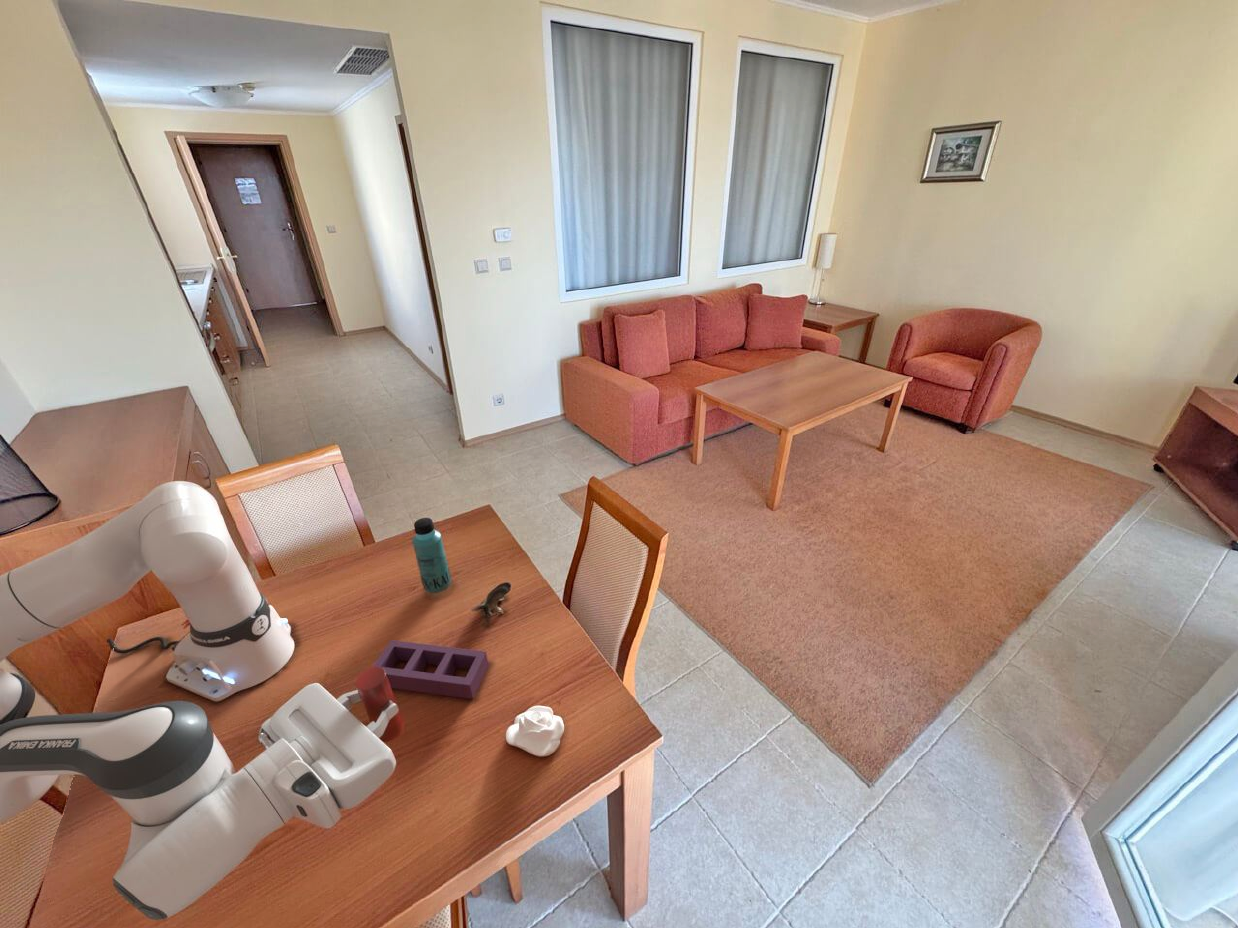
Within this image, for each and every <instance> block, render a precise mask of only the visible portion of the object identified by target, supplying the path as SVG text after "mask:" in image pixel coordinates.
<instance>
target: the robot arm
mask: <svg viewBox="0 0 1238 928" xmlns="http://www.w3.org/2000/svg"><path fill="white" fill-rule="evenodd" d="M150 572H152V573H153V574H154V575H155V577H156V578H157V579H158V580H159V581H160V583H161V584H162V585H163V586H164V588H166V589H167V590H168V591H169V592H170V593H171V594H172V596H173V597H174V598H175V600H176V602H177V603H178V605H179V607H180V608H181V610H182V612H183V614H184V615H185V617H186V618H187V619H186V620H185V621H184V622H182V624H180V626H182V627H183V628H182V629H183V630H185V629H187V628H188V627H189V632H187V633H186V634H185V635H184V636H183V637H182V638H181V639H179V640H173V641H169V642H168V643H167V641H166V639H165V638H164V637H162V636H154V637H151V638H149V639H147V640H144V641H142V642H141V643H139V644H137V645H134V646H132V647H130V648H126V649H121V648H118V647H117V646H116V644H115V641H114V639H113V638H112V637H109V638H107V639H106V643H108V645H109V647H110V649H111V650H112V651H113V652H114V653H116V654H128V653H131V652H134V651H136V650H138V649H140V648H142V647H144V646H146V645H148V644H150V643H152V642H156V641H158V642H160V643H161V648H162V649H164V650H168V649H170V648H171V650H172V652H173V653H172V656H173V659H174V662H173V663H172V665H171V666H170V668H169V670H168V672H167V673H166V676H165V678H166V680H167V682H168V683H171V684H173V685H175V686H178V687H179V688H182V689H184V690H187V691H189V692H192V693H193V694H196V695H198V696H201V697H202V698H205V699H208V700H210V701H213V702H220V701H223V700H225V699H227V698H229V697H230V696H232V695H234V694H235V693H238V692H240V691H243V690H246V689H249V688H253V687H255V686H257V685H259V684H261V683H263V682H264V681H267V680H269V678H272V677H273V676H275V674H276V673H278V672H279V671H280V670H282V669H283V667H284V666H286V665H287V663H288V662H289V661H290V659H291V657H292V656H293V654H294V651H295V647H296V646H295V641H294V639H293V637H292V635H291V632H292V627H291V624H289V621H288V619H287V618H281V617H280V616H279V613H277V611H276V609H275V608H274V607H273V606H272V605H270V604H269V602H268V599H267V598H266V597H265V596H264V594H263V593H262V592H261V591H259V589H258V586H257V585H256V583H255V580H254V579H253V576H252V575H251V572H250V570H249V568H248V566H247V564H246V563H245V561H244V559H243V558H242V556H241V554H240V552H239V550H238V549H237V547H236V545H235V543H234V541H233V539H232V537H231V535H230V533H229V530H228V527H227V525H226V522H225V520H224V516H223V514H222V512H221V510H220V507H219V504H218V501H217V499H216V498H215V497H214V496H213V495H212V494H211V493H210V492H209V491H208V490H206V488H203V487H202V486H201V485H199V484H197V483H194V482H190V481H184V480H175V481H168V482H164V483H162V484H160V485H158V486H156V487H154V488H153V489H152V490H150V491H149V492H148V493H147V494H146V495H145V496H144V497H143V498H142V499H140V500H139V501H137V502H136V503H135V504H133V505H131V506H130V507H128V508H127V509H125V510H123V511H121V512H120V513H118V514H117V515H115V516H113V517H112V518H110V519H109V520H107V521H106V522H104V523H102V524H101V525H100V526H98V527H96V528H95V529H93V530H92V531H90V532H88V533H87V534H85V535H83V536H81V537H80V538H77V539H76V540H74V541H72V542H70V543H68V544H66V545H63V546H62V547H60V548H57V549H55V550H53V551H51V552H49V553H46V554H44V555H42V556H40V557H37V558H36V559H33V560H31V561H29V562H27V563H24V564H23V565H21V566H18V567H16V568H14V569H12V570H9V571H7V572H5V573H3V574H1V575H0V663H1V662H2V661H4V660H5V659H6V658H8V656H9V655H10V654H12V653H13V652H14V651H16V650H17V649H19V648H22V647H25V646H26V645H29V644H31V643H33V642H35V641H39V640H40V639H42V638H45V637H47V636H49V635H51V634H53V633H55V632H57V631H59V630H61V629H64V628H65V627H67V626H69V625H71V624H73V623H75V622H76V621H79V620H81V619H83V618H85V617H86V616H88V615H90V614H92V613H94V612H96V611H98V610H100V609H102V608H105V607H106V606H108V605H110V604H112V603H114V602H116V601H117V600H120V599H122V598H123V597H124V596H125V595H127V594H128V593H129V592H130V591H131V590H132V589H133V588H134V587H135V585H136V584H138V582H139V581H141V580H142V578H144V577H145V576H146V575H147V574H149V573H150ZM114 646H115V647H114ZM171 646H172V647H171ZM113 648H114V650H113ZM35 690H36V689H34V687H33V686H32V685H31V683H30V682H28V681H27V680H26V679H25V678H24V677H22V676H20V675H19V674H17V673H13V672H9V671H7V670H5V669H3V668H1V667H0V825H2V824H3V823H6V822H8V821H10V820H12V819H13V818H15V817H17V816H18V815H20V814H22V813H24V812H25V811H26V810H29V808H31V807H32V806H33V805H34V804H36V803H37V802H38V801H39V800H40V799H42V798H43V797H44V796H45V794H46V793H47V792H49V790H50V789H51V788H52V787H53V785H54V784H55V783H56V781H57V779H58V778H59V776H71V775H72V776H73V775H79V776H82V777H85V778H88V779H89V781H91V782H92V783H93V784H94V785H96V787H98V788H99V789H100V790H101V791H102V792H104V793H106V795H108V796H109V797H110V798H112V800H113V801H115V802H116V803H117V804H118V805H119V806H120V807H121V809H122V810H123V811H124V812H126V813H127V815H128V816H129V817H130V818H131V819H132V820H131V821H130V835H129V841H128V846H127V849H126V853H125V855H124V858H123V860H122V863H121V865H120V866H119V867H118V869H117V870H116V872H115V873H114V875H113V876H112V883H113V884H112V885H113V887H114V889H115V891H116V892H117V893H118V894H119V895H120V896H121V897H122V898H123V899H125V900H126V901H127V902H128V903H129V904H131V905H132V907H134V908H135V909H137V911H138V912H140V913H141V914H143V915H144V917H146V918H147V919H150V920H153V921H159V920H166V919H169V918H171V917H172V916H175V915H176V914H178V913H180V912H181V911H184V910H185V909H186V908H187V907H189V906H190V905H192V904H193V903H195V902H196V901H198V899H200V898H201V897H203V896H204V895H205V894H206V893H208V892H209V891H210V890H211V889H212V888H214V887H215V886H216V885H217V884H219V883H220V882H221V881H223V879H225V878H226V877H227V876H228V875H229V874H230V873H231V872H233V871H234V870H235V869H236V868H237V867H238V866H239V865H241V864H242V863H243V862H245V860H246V859H247V858H248V857H249V856H250V854H251V853H252V852H253V851H254V849H255V848H256V847H257V845H259V844H260V843H261V841H263V840H264V839H265V838H266V837H268V836H270V835H271V834H273V833H274V832H276V831H277V830H279V829H281V828H282V827H284V825H286V824H287V823H288V822H289V821H290V820H291V819H292V818H295V819H297V820H301V821H304V822H307V823H309V824H311V825H314V826H316V827H320V828H321V829H326V830H327V829H328V830H329V829H331V828H332V827H334V826H335V824H337V823H338V822H339V821H340V819H341V818H342V811H341V810H344V811H346V810H351V809H353V808H355V807H357V806H358V805H360V804H362V803H363V802H364V801H365V800H366V799H368V798H369V797H370V796H371V795H372V794H373V793H374V792H376V791H377V790H378V789H379V788H381V786H382V785H384V784H385V782H386V781H387V780H389V778H391V776H392V775H393V773H394V772H395V769H396V765H397V760H396V758H395V754H394V753H393V751H392V749H391V748H390V747H389V746H388V745H387V744H386V743H385V742H382V741H381V740H380V739H379V738H380V737H381V736H382V735H383V733H384V731H385V729H386V727H387V724H388V722H389V720H390V719H391V718H392V717H393V716H395V715H396V714H397V713H398V711H399V712H400V709H399V705H398V704H397V705H396V704H395V703H394V702H392V701H391V700H389V701H388V702H387V703H386V704H384V705H383V706H382V707H380V710H381V712H382V713H381V715H380V716H379V718H378V720H377V722H376V723H375V722H374V721H372V722H369V724H367V725H365V724H364V723H363V722H362V721H360V719H359V718H358V717H356V716H355V715H354V714H353V713H352V712H350V710H352V709H353V705H356V704H358V703H360V702H362V700H361V698H360V695H359V693H358V691H357V689H356V690H352V691H349V692H346V693H343V694H342V695H340V696H339V697H338V698H335V696H333V695H332V694H331V693H330V692H329V691H328V689H327V690H326V688H325V687H323V686H322V685H321V684H320V683H319V682H314V683H310V684H306V685H305V686H304V687H303V688H302V689H300V690H299V691H298V692H297V693H295V694H294V695H293V696H292V697H291V698H289V699H288V700H287V701H286V702H285V703H284V704H282V705H281V706H280V707H279V708H278V709H277V710H276V711H275V712H274V713H273V714H272V716H270V717H269V718H268V719H266V720H265V721H264V722H263V723H262V724H261V725H260V728H259V730H258V734H257V737H256V738H257V741H258V742H259V744H261V745H262V746H263V747H264V750H263V752H261V753H260V754H258V755H257V756H256V757H254V758H253V759H252V760H251V761H249V762H247V764H245V765H244V766H243V767H241V768H240V769H238V771H236V768H235V766H234V764H233V762H232V760H231V759H230V758H229V756H228V754H227V752H226V750H225V748H224V746H223V745H222V744H221V742H220V740H219V739H218V738H217V736H216V734H215V733H214V731H213V728H212V726H211V723H210V721H209V718H208V716H207V714H206V712H205V710H204V709H203V708H202V707H201V706H200V705H198V704H196V703H194V702H191V701H187V700H169V701H162V702H157V703H153V704H149V705H144V706H140V707H136V708H132V709H125V710H120V711H110V712H85V713H65V714H47V715H46V714H45V715H34V716H29V715H30V712H31V710H32V708H33V706H34V703H35V700H36V691H35Z"/></svg>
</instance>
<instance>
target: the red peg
mask: <svg viewBox="0 0 1238 928" xmlns="http://www.w3.org/2000/svg"><path fill="white" fill-rule="evenodd" d="M354 684H355V688H356V690H357V691H358V693H359V695H360V698H361V700H362V701H361V702H362V705H363V708H364V710H365V712H366V715H367V717H368V720H369V723H371V722H372V721H374V722H375V723H376V722H377V720H378V718H379V716H380V715H381V713H382V712H381V710H380V707H382V706H383V705H384V704H386V703H387V702H388V701H389V700H391V701H392V702H394V703H395V704H396V705H397V706H398V703H397V700H396V698H395V695H394V693H393V692H394V691H393V688H391V686H390V684H389V681H388V678H387V675H386V672H385V670H384V669H383V668H381V667H373V666H371V667H369V668H366V669H364V670H362V672H361V673H359V674H358V676H357V678H356V679H355V683H354ZM404 727H405V724H404V720H403V718H402V715H401V712H400V710H399V711H398V713H397V714H396V715H395V716H393V717H392V718H391V719H390V720H389V722H388V724H387V727H386V729H385V731H384V733H383V735H382V736H381V737H380V738H379V739H380V740H381V741H382V742H383V743H388V742H391V741H393V740H395V739H397V738H398V737H399V736H400V735H401V734H402V732H403V730H404Z"/></svg>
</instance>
